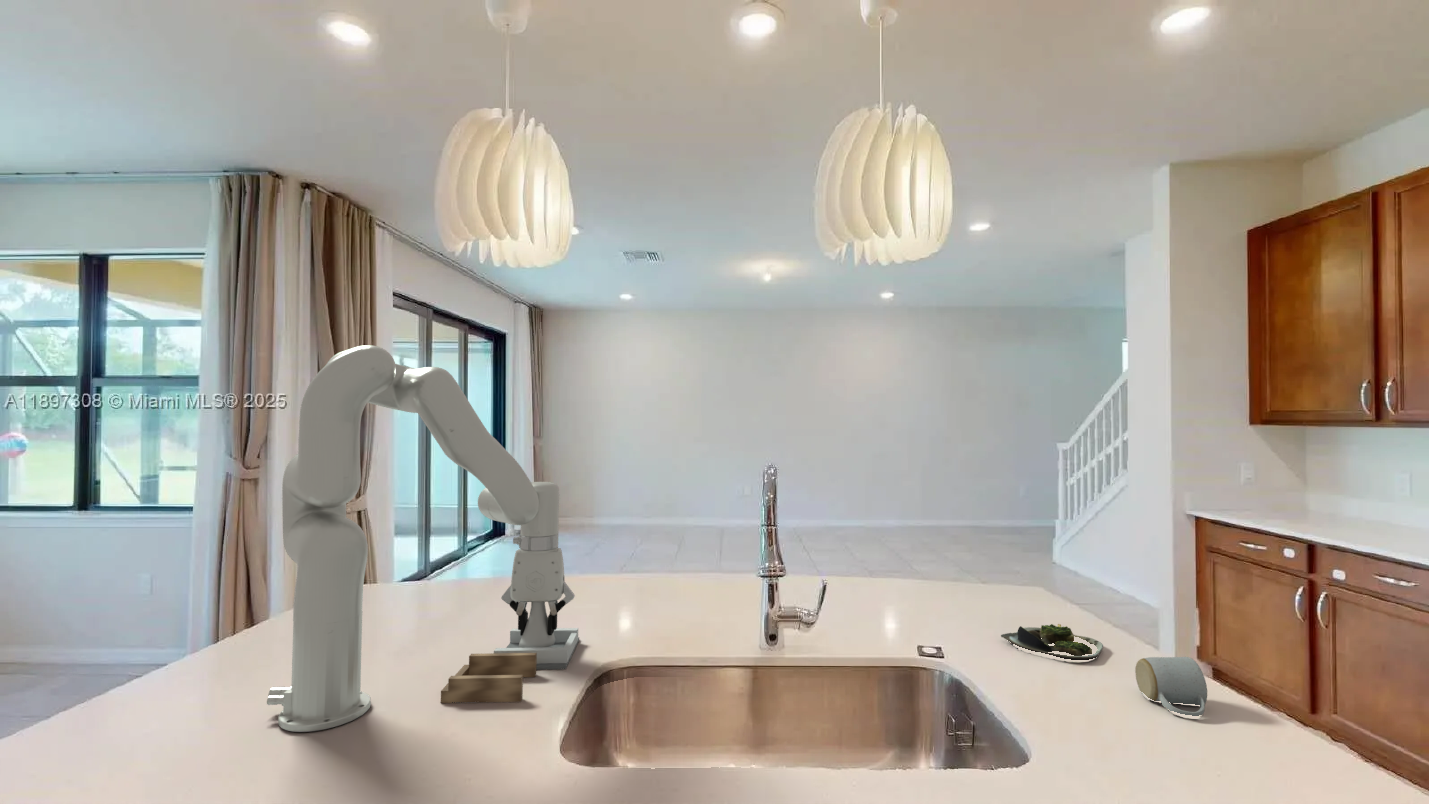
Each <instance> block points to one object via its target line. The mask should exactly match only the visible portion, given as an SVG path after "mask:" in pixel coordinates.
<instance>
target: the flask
mask: <svg viewBox="0 0 1429 804" xmlns="http://www.w3.org/2000/svg"><path fill="white" fill-rule="evenodd" d="M530 603H531V604H530V611H529V614H528V621H527V624H526V627H525V630H524V633H523V635H522V638H521V640H520V643H519V646H518V647H521V648H545V647H549V646H552V645H554V643H555V640H556V639H555V636H554V633H553V634H552V635H548V616H549V615H548V614H547V609H546V602H530Z"/></svg>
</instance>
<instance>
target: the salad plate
mask: <svg viewBox="0 0 1429 804" xmlns="http://www.w3.org/2000/svg"><path fill="white" fill-rule="evenodd" d="M1074 636H1075V637H1079V638H1081V639H1083V640H1086V641H1087V642H1089V643H1090V644H1094V645H1095V646H1096V647H1097V649H1098V650H1097V651H1096V653H1095V654H1093V655H1088V656H1082V655H1085V654H1092V649H1091V648H1090V647H1088V646H1087V645H1085V644H1083V643H1078V642H1073V641H1074ZM1000 637H1001V638H1003V639H1004V640H1006V641H1007V640H1008V641H1007V642H1009V641H1010V642H1011V643H1012V644H1015V645H1017V646H1019V647H1022V648H1025V649H1028V650H1031V651H1035V652H1041V653H1045V654H1049V655H1053V656H1056V657H1060V658H1064V659H1071V660H1089V659H1093V658H1096V657H1097V656H1098V657H1099V655H1100V654H1101V653H1102V652H1103V651H1102V650H1103V649H1104V644H1103V643H1102V642H1101V641H1100V640H1097V639H1094V638H1092V637H1088V636H1082V635H1076V634H1074V633H1073V630H1072V629H1071V628H1070V627H1068V626H1067V625H1066V626H1062V624H1060V623H1058V624H1057V626H1056V625H1055V624H1053V623H1051V624H1044V625H1043V624H1041V626H1040V627H1032V626H1031V627H1029V626H1028V627H1023V626H1019V627H1018V629H1017V631H1016V632H1006V633H1003V634H1000ZM1041 638H1042V639H1041ZM1010 642H1009V643H1010ZM1011 643H1010V644H1011ZM1052 643H1054V644H1055V645H1054V646H1049V645H1048V644H1052ZM1012 644H1011V645H1012ZM1052 651H1059V652H1066V653H1069V654H1071V655H1074V656H1067V655H1060V654H1054V653H1048V652H1052ZM1100 652H1101V653H1100ZM1099 653H1100V654H1099ZM1098 654H1099V655H1098Z"/></svg>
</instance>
